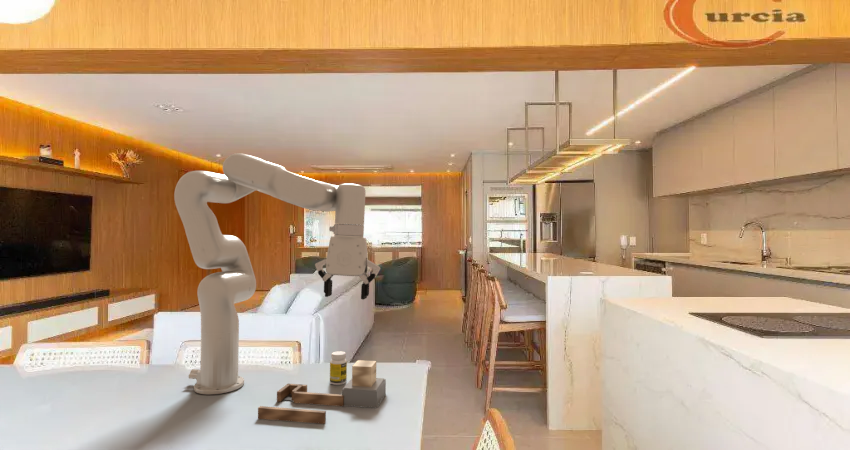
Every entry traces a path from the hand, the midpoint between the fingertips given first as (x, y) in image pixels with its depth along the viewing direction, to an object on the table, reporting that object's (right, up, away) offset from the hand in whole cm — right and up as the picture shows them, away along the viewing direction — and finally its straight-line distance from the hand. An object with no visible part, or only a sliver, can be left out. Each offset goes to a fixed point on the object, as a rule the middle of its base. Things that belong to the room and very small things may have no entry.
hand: (346, 297), depth 114 cm
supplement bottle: (-4, -27, +12) cm, 29 cm away
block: (+5, -22, -1) cm, 23 cm away
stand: (+5, -26, -1) cm, 27 cm away
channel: (-9, -26, -6) cm, 28 cm away
